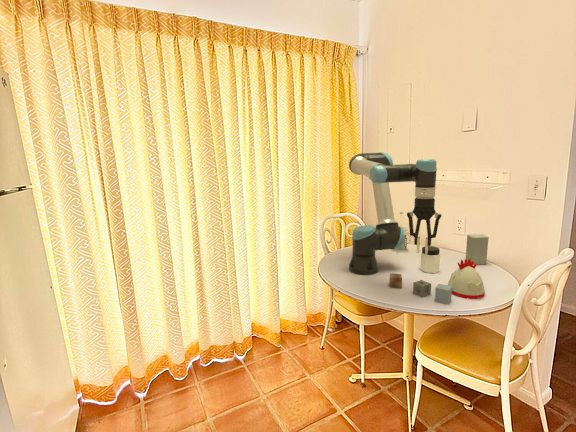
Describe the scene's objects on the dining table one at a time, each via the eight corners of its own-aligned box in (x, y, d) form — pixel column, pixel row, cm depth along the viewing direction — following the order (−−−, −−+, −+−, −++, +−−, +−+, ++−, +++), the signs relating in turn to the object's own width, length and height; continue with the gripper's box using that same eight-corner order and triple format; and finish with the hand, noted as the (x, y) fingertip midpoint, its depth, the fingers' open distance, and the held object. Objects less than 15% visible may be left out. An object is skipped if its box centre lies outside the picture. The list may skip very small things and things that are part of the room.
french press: (397, 247, 199) (398, 209, 194) (413, 250, 190) (415, 211, 186) (388, 250, 193) (389, 211, 188) (405, 254, 184) (407, 214, 179)
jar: (432, 274, 151) (433, 251, 149) (417, 270, 157) (418, 248, 155) (442, 270, 156) (443, 248, 153) (427, 266, 162) (428, 245, 160)
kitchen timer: (441, 286, 137) (442, 254, 134) (469, 284, 138) (472, 253, 135) (460, 300, 124) (462, 265, 121) (492, 298, 124) (495, 263, 122)
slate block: (434, 301, 123) (435, 287, 122) (438, 296, 127) (438, 283, 126) (448, 304, 120) (449, 290, 119) (451, 300, 124) (452, 286, 123)
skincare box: (480, 260, 168) (482, 233, 165) (487, 265, 161) (489, 236, 158) (464, 260, 169) (466, 233, 166) (470, 265, 162) (472, 236, 159)
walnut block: (390, 287, 138) (390, 277, 137) (389, 283, 143) (389, 273, 142) (401, 288, 136) (402, 278, 136) (400, 284, 141) (401, 274, 140)
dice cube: (420, 290, 134) (421, 279, 133) (430, 294, 129) (431, 283, 128) (412, 293, 131) (413, 282, 130) (422, 297, 127) (423, 286, 126)
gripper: (403, 198, 124) (401, 252, 128) (445, 199, 116) (442, 257, 120) (405, 195, 130) (404, 248, 134) (446, 196, 122) (443, 252, 127)
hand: (422, 252), depth 127 cm, fingers open, 3 cm apart
